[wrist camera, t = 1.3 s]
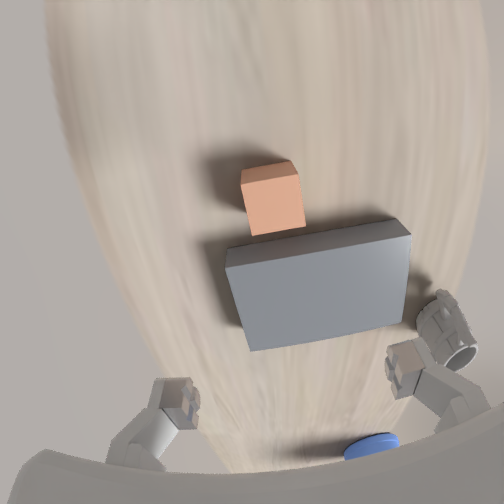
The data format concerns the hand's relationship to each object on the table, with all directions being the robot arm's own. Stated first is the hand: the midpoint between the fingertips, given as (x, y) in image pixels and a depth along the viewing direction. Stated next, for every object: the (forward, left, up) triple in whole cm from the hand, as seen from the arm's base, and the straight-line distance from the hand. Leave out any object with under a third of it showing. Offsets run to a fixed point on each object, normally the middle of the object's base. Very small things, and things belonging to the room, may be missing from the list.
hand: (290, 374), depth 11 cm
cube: (0, 0, -23) cm, 23 cm away
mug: (+22, +22, -23) cm, 39 cm away
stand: (+13, +4, -22) cm, 26 cm away
